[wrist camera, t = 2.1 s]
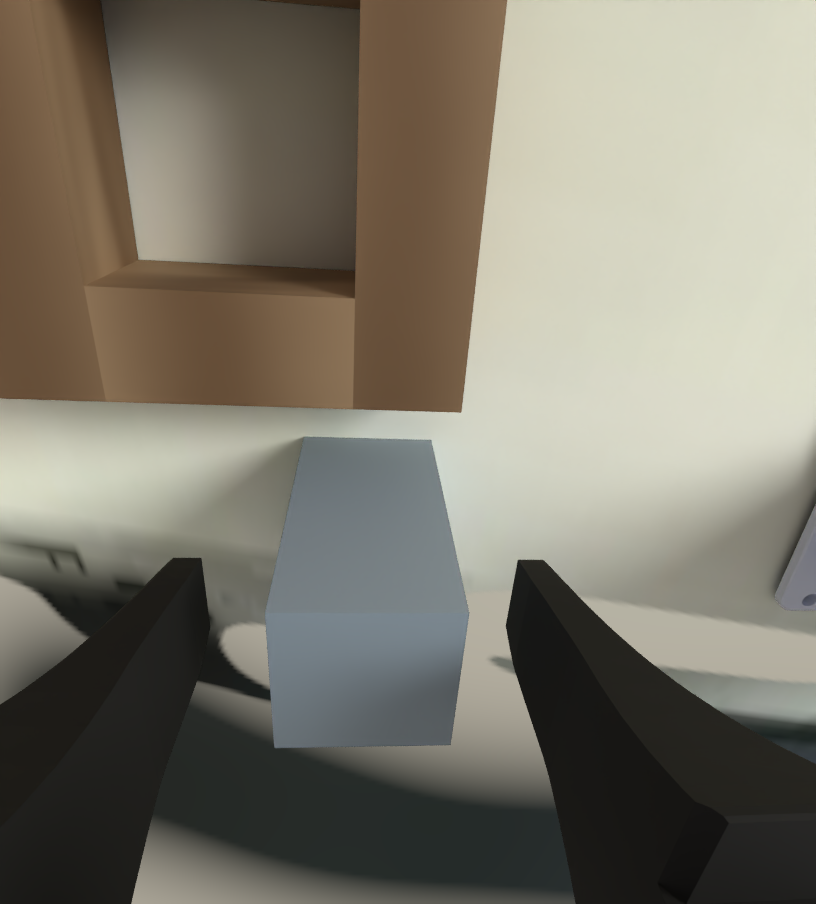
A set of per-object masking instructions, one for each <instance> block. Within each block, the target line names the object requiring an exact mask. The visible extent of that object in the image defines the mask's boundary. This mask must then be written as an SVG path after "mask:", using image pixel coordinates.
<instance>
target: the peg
mask: <svg viewBox="0 0 816 904" xmlns="http://www.w3.org/2000/svg"><path fill="white" fill-rule="evenodd" d="M468 618H469V610H468V605H467V601H466V596H465V592H464V587H463V583H462V578H461V573H460V569H459V564H458V560H457V555H456V551H455V546H454V542H453V537H452V532H451V528H450V523H449V519H448V514H447V510H446V505H445V501H444V496H443V491H442V487H441V482H440V478H439V473H438V469H437V464H436V460H435V455H434V450H433V446H432V441H431V440H406V439H369V438H332V437H304V439H303V443H302V448H301V452H300V457H299V461H298V466H297V470H296V475H295V479H294V484H293V488H292V493H291V498H290V502H289V507H288V511H287V516H286V520H285V525H284V529H283V534H282V538H281V543H280V547H279V552H278V556H277V561H276V565H275V570H274V574H273V579H272V583H271V588H270V592H269V597H268V601H267V606H266V610H265V621H266V634H267V649H268V664H269V678H270V693H271V706H272V721H273V736H274V748H302V747H303V748H306V747H364V746H419V745H420V746H421V745H451V738H452V731H453V724H454V717H455V710H456V703H457V695H458V688H459V681H460V674H461V668H462V660H463V653H464V646H465V639H466V632H467V625H468Z"/></svg>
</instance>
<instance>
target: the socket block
mask: <svg viewBox="0 0 816 904" xmlns="http://www.w3.org/2000/svg"><path fill="white" fill-rule="evenodd" d="M261 1H273V2H284V3H296V4H307V5H318V6H330V7H341V8H353V9H360V43H359V99H358V155H357V210H356V266H355V271H349V270H330V269H310V268H290V267H270V266H250V265H230V264H210V263H190V262H171V261H151V260H138V254H137V248H136V241H135V234H134V227H133V220H132V214H131V207H130V200H129V193H128V186H127V180H126V173H125V166H124V159H123V152H122V146H121V139H120V132H119V125H118V118H117V112H116V105H115V98H114V91H113V84H112V78H111V71H110V64H109V57H108V50H107V44H106V37H105V30H104V23H103V16H102V10H101V3H100V0H0V398H7V399H39V400H72V401H105V402H137V403H170V404H202V405H235V406H268V407H300V408H333V409H365V410H398V411H431V412H461V411H462V402H463V393H464V384H465V375H466V366H467V357H468V348H469V339H470V330H471V321H472V312H473V303H474V294H475V285H476V276H477V267H478V258H479V249H480V240H481V231H482V222H483V213H484V204H485V195H486V186H487V177H488V168H489V159H490V150H491V141H492V132H493V123H494V114H495V105H496V96H497V87H498V78H499V69H500V60H501V51H502V42H503V33H504V24H505V15H506V6H507V0H261Z"/></svg>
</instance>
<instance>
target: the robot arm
mask: <svg viewBox="0 0 816 904" xmlns="http://www.w3.org/2000/svg"><path fill="white" fill-rule="evenodd" d="M775 600H776V601H777V603H778V604H779V605H780V606H781V607H782V608H784V609H785V610H816V504H815V507H814V509H813V511H812V513H811V516H810V518H809V520H808V522H807V524H806V527H805V529H804V531H803V533H802V535H801V538H800V540H799V542H798V544H797V547H796V549H795V551H794V553H793V555H792V558H791V560H790V562H789V564H788V567H787V569H786V571H785V573H784V575H783V578H782V580H781V582H780V584H779V586H778V589H777V591H776V593H775ZM506 629H507V635H508V640H509V646H510V651H511V656H512V661H513V665H514V669H515V672H516V675H517V678H518V681H519V684H520V688H521V691H522V694H523V697H524V700H525V703H526V706H527V709H528V712H529V715H530V718H531V721H532V724H533V727H534V730H535V733H536V736H537V739H538V742H539V745H540V748H541V751H542V754H543V757H544V761H545V764H546V768H547V771H548V775H549V778H550V783H551V787H552V792H553V796H554V800H555V805H556V809H557V813H558V818H559V823H560V827H561V832H562V836H563V842H564V846H565V851H566V856H567V861H568V865H569V870H570V875H571V881H572V886H573V892H574V897H575V902H576V904H816V764H815V763H812V762H810V761H808V760H806V759H804V758H802V757H800V756H798V755H796V754H794V753H792V752H790V751H788V750H786V749H784V748H782V747H780V746H778V745H777V744H775V743H773V742H771V741H769V740H768V739H766V738H764V737H762V736H761V735H759V734H757V733H755V732H753V731H752V730H750V729H748V728H746V727H745V726H743V725H741V724H740V723H738V722H736V721H735V720H733V719H731V718H730V717H728V716H726V715H725V714H723V713H721V712H720V711H718V710H717V709H715V708H714V707H712V706H711V705H709V704H708V703H706V702H705V701H703V700H702V699H700V698H699V697H697V696H696V695H694V694H692V693H691V692H690V691H688V690H687V689H685V688H684V687H682V686H681V685H680V684H678V683H677V682H675V681H674V680H673V679H672V678H670V677H669V676H668V675H666V674H665V673H664V672H662V671H661V670H660V669H658V668H657V667H656V666H654V665H653V664H652V663H651V662H649V661H648V660H647V659H646V658H644V657H643V656H642V655H641V654H639V653H638V652H637V651H636V650H635V649H634V648H633V647H631V646H630V645H629V644H628V643H627V642H626V641H625V640H623V639H622V638H621V637H620V636H619V635H618V634H617V633H615V632H614V631H613V630H612V629H611V628H610V627H609V626H608V625H607V624H606V623H605V622H604V621H603V620H602V619H601V618H600V617H598V616H597V615H596V614H595V613H594V612H593V611H592V610H591V609H590V608H589V607H588V606H587V605H586V604H585V603H584V602H583V601H582V600H581V599H580V598H579V597H578V595H577V594H576V593H575V592H574V591H573V590H572V589H571V588H570V587H569V586H568V585H567V584H566V583H565V582H564V581H563V580H562V579H561V578H560V577H559V576H558V575H557V573H556V572H555V571H554V570H553V569H552V568H551V567H550V566H549V565H548V564H547V563H546V562H545V561H544V560H518V562H517V568H516V573H515V579H514V584H513V590H512V595H511V601H510V606H509V612H508V617H507V623H506ZM209 631H210V622H209V614H208V606H207V598H206V591H205V583H204V575H203V567H202V559H201V558H173V559H172V560H170V561H169V562H168V563H167V564H166V565H165V566H164V567H163V568H162V569H161V570H160V571H159V572H158V573H157V574H156V575H155V576H154V577H153V578H152V579H151V580H150V581H149V582H148V583H147V584H146V585H145V586H144V587H143V588H142V589H141V590H140V591H139V592H138V593H137V594H136V595H135V596H134V597H133V598H132V599H131V600H130V601H129V602H128V603H127V604H126V605H125V606H124V607H122V608H121V609H120V610H119V611H118V612H117V613H116V614H115V615H114V616H113V617H112V618H111V619H110V620H109V621H108V622H107V623H105V624H104V625H103V626H102V627H101V628H100V629H99V630H98V631H96V632H95V633H94V634H93V635H92V636H91V637H90V638H88V639H87V640H86V641H85V642H84V643H83V644H81V645H80V646H79V647H78V648H77V649H76V650H74V651H73V652H72V653H71V654H70V655H69V656H67V657H66V658H65V659H64V660H63V661H61V662H60V663H59V664H57V665H56V666H55V667H53V668H52V669H51V670H49V671H48V672H47V673H45V674H44V675H43V676H41V677H40V678H39V679H37V680H36V681H35V682H33V683H32V684H30V685H29V686H28V687H26V688H25V689H23V690H22V691H20V692H19V693H18V694H16V695H15V696H13V697H12V698H10V699H8V700H7V701H5V702H4V703H2V704H1V705H0V904H131V902H132V898H133V893H134V888H135V883H136V880H137V876H138V872H139V868H140V863H141V859H142V855H143V851H144V847H145V842H146V838H147V834H148V830H149V826H150V822H151V818H152V815H153V811H154V807H155V802H156V798H157V795H158V791H159V788H160V784H161V781H162V778H163V775H164V771H165V769H166V765H167V763H168V760H169V757H170V754H171V752H172V749H173V746H174V743H175V741H176V738H177V735H178V732H179V729H180V727H181V724H182V721H183V718H184V716H185V713H186V710H187V707H188V705H189V702H190V699H191V696H192V693H193V691H194V688H195V685H196V682H197V679H198V676H199V673H200V670H201V666H202V662H203V658H204V654H205V649H206V645H207V640H208V635H209Z"/></svg>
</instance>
